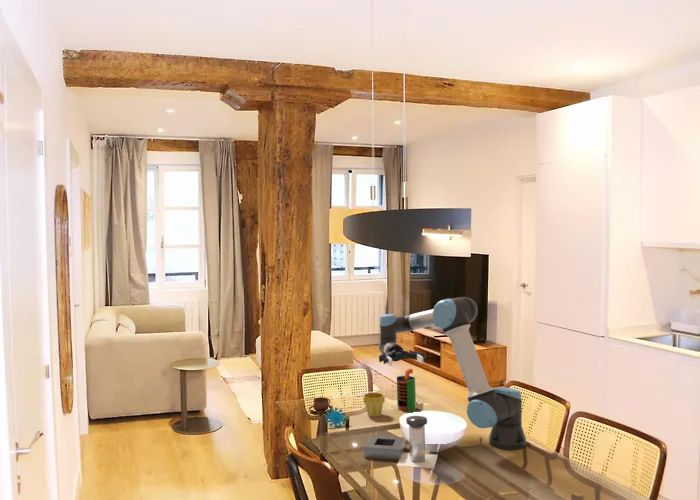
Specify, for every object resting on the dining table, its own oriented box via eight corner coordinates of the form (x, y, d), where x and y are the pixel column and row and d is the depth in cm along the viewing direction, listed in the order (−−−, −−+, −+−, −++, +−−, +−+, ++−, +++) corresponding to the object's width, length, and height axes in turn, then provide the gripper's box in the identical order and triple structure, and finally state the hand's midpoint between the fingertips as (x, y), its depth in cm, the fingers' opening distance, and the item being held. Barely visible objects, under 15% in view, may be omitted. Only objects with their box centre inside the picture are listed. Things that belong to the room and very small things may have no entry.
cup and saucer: (316, 407, 316) (316, 395, 316) (337, 409, 311) (336, 397, 311) (304, 413, 305) (304, 401, 305) (325, 416, 300) (325, 403, 300)
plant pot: (361, 417, 297) (360, 397, 297) (367, 411, 307) (366, 391, 306) (381, 418, 294) (381, 398, 293) (387, 412, 303) (386, 393, 303)
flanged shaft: (429, 456, 241) (428, 416, 240) (426, 464, 233) (425, 422, 233) (409, 455, 243) (408, 415, 242) (405, 462, 235) (404, 421, 235)
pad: (437, 457, 243) (437, 454, 243) (433, 470, 229) (433, 468, 229) (402, 454, 246) (402, 452, 246) (396, 468, 233) (396, 465, 233)
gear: (324, 425, 280) (325, 405, 287) (323, 431, 284) (324, 412, 291) (348, 427, 281) (349, 408, 288) (346, 433, 285) (347, 414, 292)
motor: (393, 408, 310) (392, 369, 309) (405, 404, 316) (404, 366, 315) (408, 412, 303) (407, 372, 302) (420, 408, 309) (419, 369, 308)
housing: (404, 449, 252) (404, 437, 252) (399, 462, 239) (399, 449, 238) (371, 447, 256) (371, 435, 255) (364, 459, 242) (364, 447, 242)
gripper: (420, 358, 281) (435, 368, 260) (367, 361, 276) (378, 372, 256) (419, 342, 281) (435, 350, 260) (366, 345, 276) (377, 354, 255)
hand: (407, 361), depth 258 cm, fingers open, 13 cm apart
